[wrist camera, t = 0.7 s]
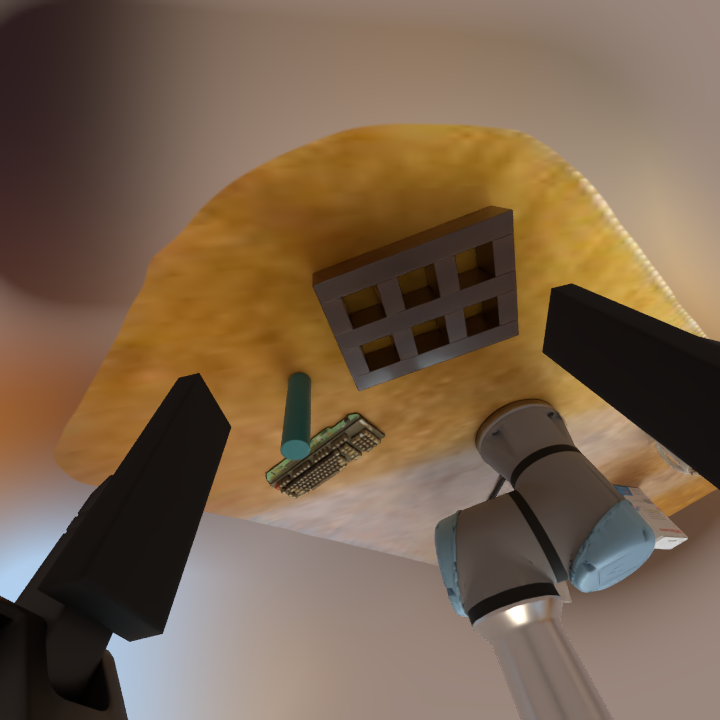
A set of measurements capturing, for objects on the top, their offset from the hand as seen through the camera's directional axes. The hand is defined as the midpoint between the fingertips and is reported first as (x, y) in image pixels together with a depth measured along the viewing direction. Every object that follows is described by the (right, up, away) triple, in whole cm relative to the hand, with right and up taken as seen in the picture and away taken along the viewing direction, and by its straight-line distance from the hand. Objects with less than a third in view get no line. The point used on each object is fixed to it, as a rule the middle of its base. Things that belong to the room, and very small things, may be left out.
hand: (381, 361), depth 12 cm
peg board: (+6, +8, +28) cm, 30 cm away
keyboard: (-7, -17, +42) cm, 46 cm away
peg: (-10, -3, +33) cm, 34 cm away
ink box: (+61, -32, +61) cm, 92 cm away
